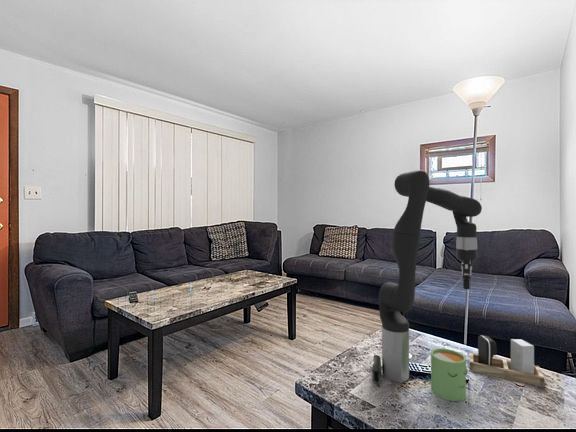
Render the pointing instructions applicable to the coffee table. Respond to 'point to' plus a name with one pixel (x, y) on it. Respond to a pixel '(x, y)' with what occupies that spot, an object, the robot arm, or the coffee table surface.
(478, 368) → the slot organizer
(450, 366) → the mug
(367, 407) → the coffee table surface
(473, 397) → the coffee table surface
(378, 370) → the mobile phone
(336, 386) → the coffee table surface
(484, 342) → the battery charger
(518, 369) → the skincare box
